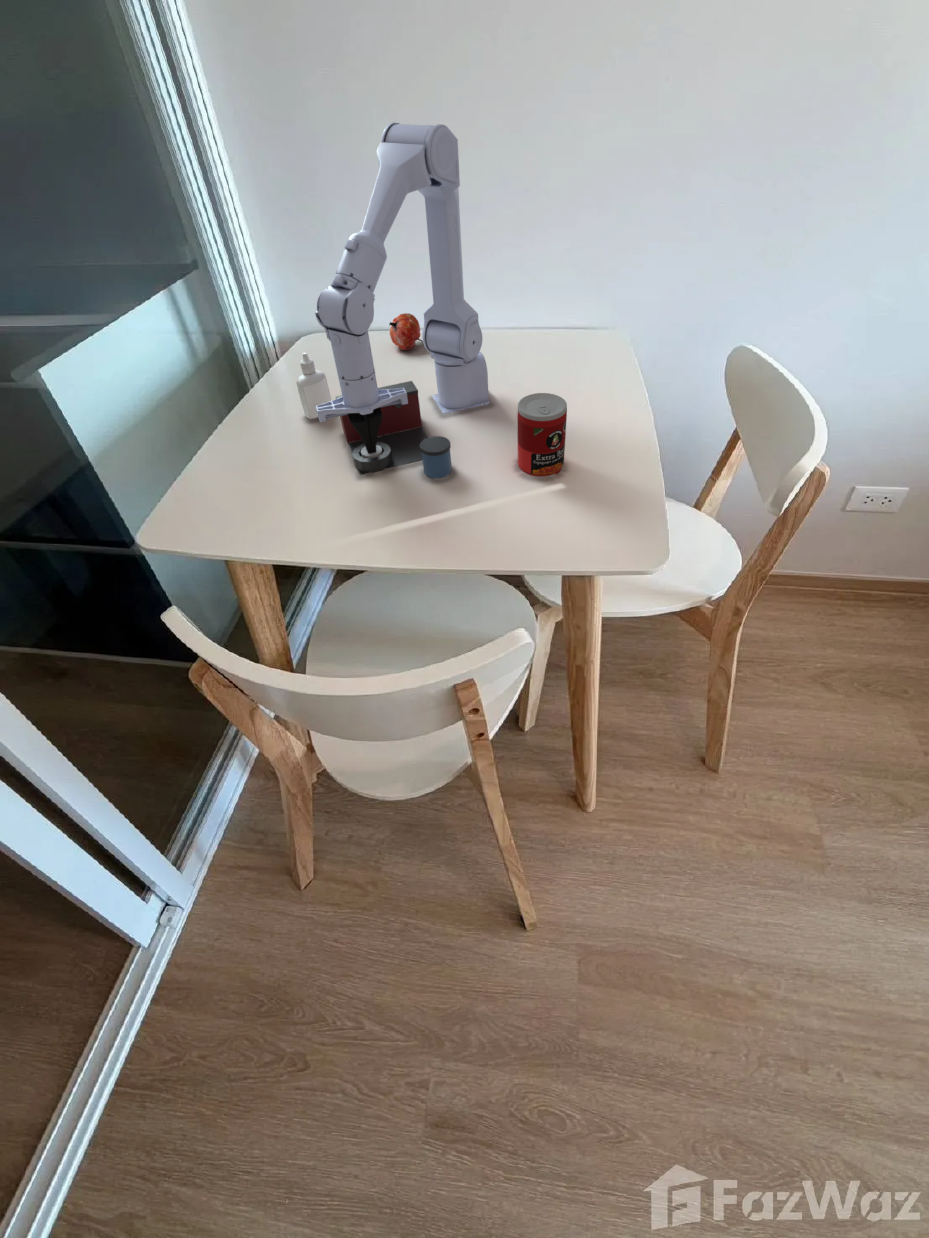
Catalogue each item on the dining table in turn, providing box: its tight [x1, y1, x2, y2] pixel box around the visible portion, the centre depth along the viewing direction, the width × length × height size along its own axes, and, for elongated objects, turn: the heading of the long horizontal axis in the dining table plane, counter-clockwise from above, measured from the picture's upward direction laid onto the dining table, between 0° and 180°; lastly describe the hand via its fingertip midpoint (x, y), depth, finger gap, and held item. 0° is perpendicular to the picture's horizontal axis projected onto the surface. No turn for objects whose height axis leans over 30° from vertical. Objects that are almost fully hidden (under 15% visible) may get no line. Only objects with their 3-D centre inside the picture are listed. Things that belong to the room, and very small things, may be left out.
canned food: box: [516, 392, 568, 477], centre depth 100 cm, size 8×8×11 cm
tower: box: [335, 380, 423, 444], centre depth 112 cm, size 5×14×8 cm, turn 108°
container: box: [420, 435, 453, 479], centre depth 102 cm, size 5×5×6 cm
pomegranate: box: [388, 312, 423, 351], centre depth 138 cm, size 7×7×10 cm
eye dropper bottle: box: [296, 352, 333, 420], centre depth 117 cm, size 4×6×12 cm
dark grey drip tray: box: [347, 426, 429, 476], centre depth 109 cm, size 11×14×3 cm
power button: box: [361, 445, 382, 458], centre depth 106 cm, size 4×4×2 cm
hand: (371, 450), depth 105 cm, fingers closed, pressing on power button
